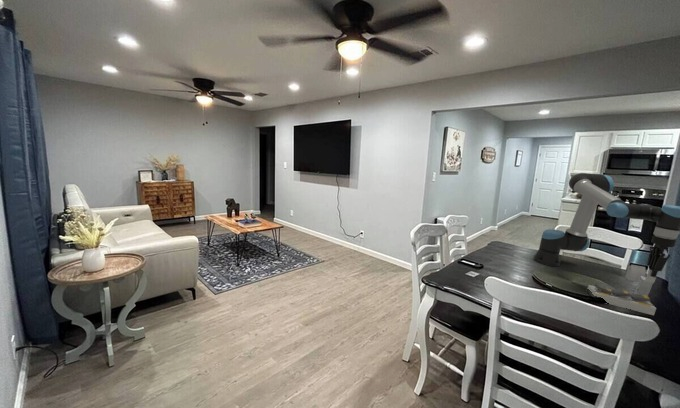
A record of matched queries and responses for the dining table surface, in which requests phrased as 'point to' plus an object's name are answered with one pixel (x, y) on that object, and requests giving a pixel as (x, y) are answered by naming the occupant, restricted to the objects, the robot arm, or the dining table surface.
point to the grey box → (635, 273)
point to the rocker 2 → (620, 292)
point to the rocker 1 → (603, 289)
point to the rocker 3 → (640, 297)
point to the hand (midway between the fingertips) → (649, 281)
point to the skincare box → (643, 287)
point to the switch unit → (624, 301)
